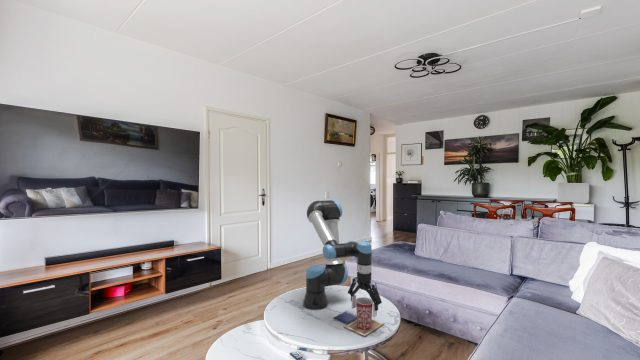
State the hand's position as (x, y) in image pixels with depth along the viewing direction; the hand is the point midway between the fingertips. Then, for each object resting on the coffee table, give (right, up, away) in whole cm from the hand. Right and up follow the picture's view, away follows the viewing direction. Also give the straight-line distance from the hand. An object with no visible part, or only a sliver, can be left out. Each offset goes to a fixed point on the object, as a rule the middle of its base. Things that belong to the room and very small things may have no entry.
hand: (363, 312), depth 152 cm
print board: (0, -8, 0) cm, 8 cm away
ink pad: (-9, -8, +8) cm, 14 cm away
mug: (0, -7, 0) cm, 7 cm away
